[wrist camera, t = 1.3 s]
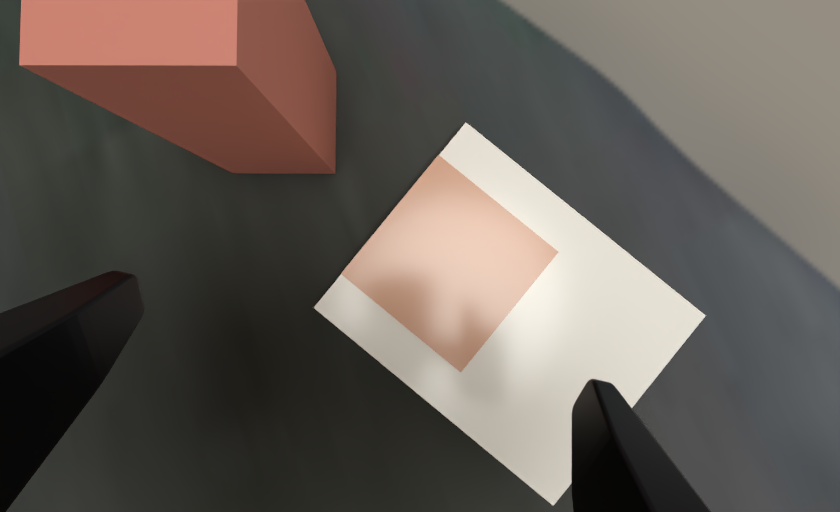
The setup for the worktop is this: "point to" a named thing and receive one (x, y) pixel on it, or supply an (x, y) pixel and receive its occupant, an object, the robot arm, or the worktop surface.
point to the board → (505, 308)
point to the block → (197, 74)
